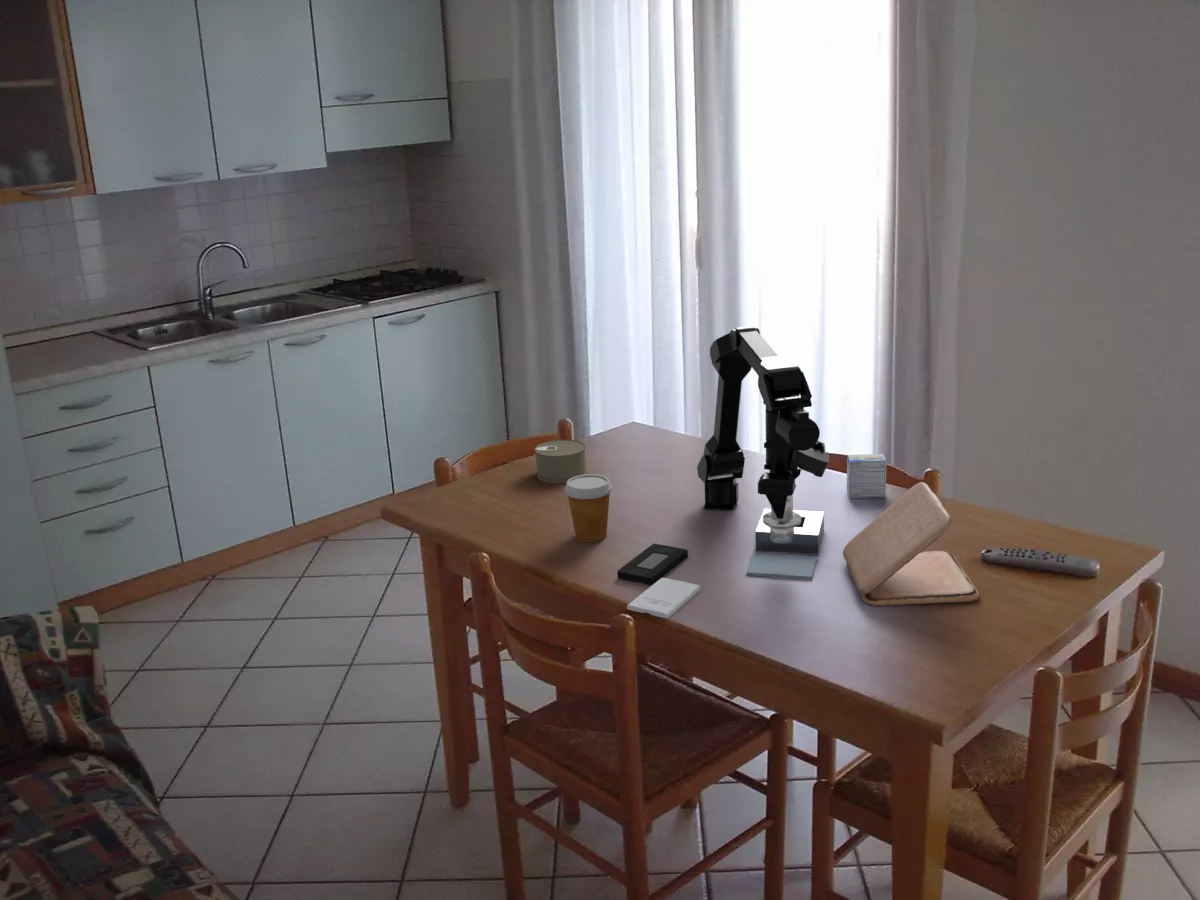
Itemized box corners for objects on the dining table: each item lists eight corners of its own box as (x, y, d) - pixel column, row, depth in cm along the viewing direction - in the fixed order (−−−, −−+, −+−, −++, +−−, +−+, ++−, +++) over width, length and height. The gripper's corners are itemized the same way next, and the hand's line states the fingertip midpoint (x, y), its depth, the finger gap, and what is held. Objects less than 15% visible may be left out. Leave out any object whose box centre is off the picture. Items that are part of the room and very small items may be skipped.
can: (586, 482, 265) (585, 454, 263) (535, 485, 265) (532, 457, 263) (587, 465, 276) (586, 438, 274) (538, 467, 276) (536, 440, 274)
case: (840, 560, 217) (841, 481, 212) (952, 555, 216) (955, 476, 211) (860, 610, 198) (861, 525, 193) (983, 605, 197) (988, 519, 192)
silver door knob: (760, 545, 211) (760, 503, 208) (765, 530, 217) (765, 489, 215) (798, 547, 209) (799, 505, 206) (803, 532, 215) (803, 491, 213)
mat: (746, 575, 213) (746, 572, 212) (753, 555, 221) (753, 552, 221) (811, 579, 209) (811, 576, 209) (816, 559, 217) (816, 556, 217)
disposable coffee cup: (621, 530, 236) (619, 475, 232) (602, 548, 228) (599, 491, 224) (580, 525, 240) (576, 471, 236) (560, 542, 232) (556, 487, 228)
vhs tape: (617, 581, 215) (616, 571, 214) (654, 552, 226) (653, 543, 225) (652, 588, 211) (651, 578, 210) (688, 558, 222) (687, 549, 222)
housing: (755, 550, 223) (755, 531, 222) (764, 526, 234) (764, 508, 233) (818, 554, 220) (818, 535, 218) (823, 530, 231) (824, 511, 229)
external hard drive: (700, 593, 208) (667, 621, 198) (661, 584, 212) (626, 612, 202) (700, 585, 207) (667, 613, 198) (661, 576, 212) (626, 603, 202)
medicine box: (883, 491, 249) (884, 453, 247) (886, 498, 245) (887, 460, 242) (846, 491, 250) (846, 454, 247) (848, 499, 246) (849, 461, 243)
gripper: (821, 452, 196) (821, 536, 201) (831, 419, 213) (830, 497, 218) (756, 449, 199) (757, 532, 204) (771, 417, 216) (771, 494, 221)
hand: (781, 513), depth 212 cm, fingers closed on silver door knob, 4 cm apart
